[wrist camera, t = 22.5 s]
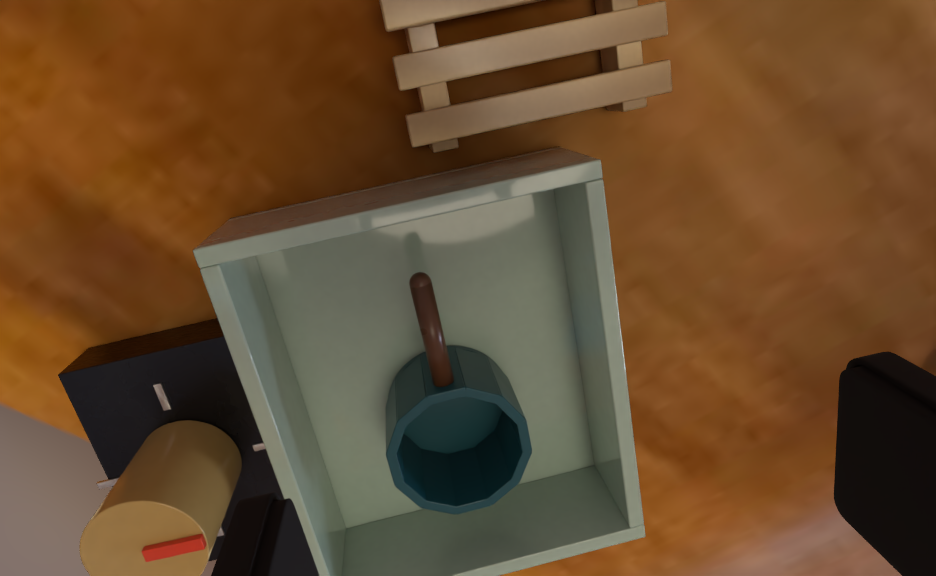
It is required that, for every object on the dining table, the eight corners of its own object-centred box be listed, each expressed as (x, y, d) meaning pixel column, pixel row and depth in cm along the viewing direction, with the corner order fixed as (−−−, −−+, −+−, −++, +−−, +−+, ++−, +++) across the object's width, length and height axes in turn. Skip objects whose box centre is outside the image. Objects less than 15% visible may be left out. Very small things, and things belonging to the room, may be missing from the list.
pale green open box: (229, 218, 29) (191, 249, 23) (559, 145, 30) (601, 158, 24) (337, 535, 35) (328, 621, 30) (604, 466, 36) (646, 537, 31)
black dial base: (78, 350, 30) (44, 379, 27) (256, 309, 30) (242, 333, 27) (164, 537, 34) (143, 580, 31) (321, 498, 34) (315, 536, 31)
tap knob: (157, 512, 30) (101, 617, 24) (124, 431, 28) (54, 522, 22) (253, 492, 30) (221, 590, 24) (226, 410, 29) (184, 494, 23)
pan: (519, 438, 34) (540, 493, 29) (403, 467, 34) (406, 528, 29) (479, 234, 30) (497, 261, 25) (347, 264, 30) (339, 297, 25)
